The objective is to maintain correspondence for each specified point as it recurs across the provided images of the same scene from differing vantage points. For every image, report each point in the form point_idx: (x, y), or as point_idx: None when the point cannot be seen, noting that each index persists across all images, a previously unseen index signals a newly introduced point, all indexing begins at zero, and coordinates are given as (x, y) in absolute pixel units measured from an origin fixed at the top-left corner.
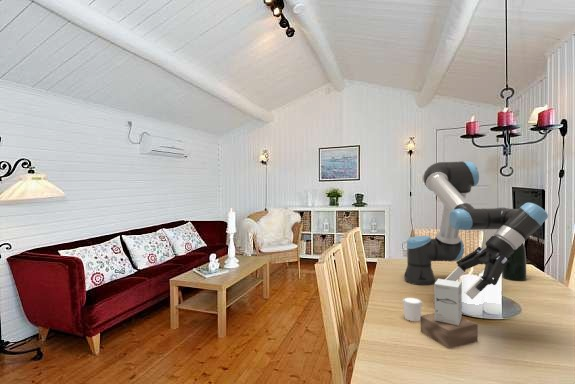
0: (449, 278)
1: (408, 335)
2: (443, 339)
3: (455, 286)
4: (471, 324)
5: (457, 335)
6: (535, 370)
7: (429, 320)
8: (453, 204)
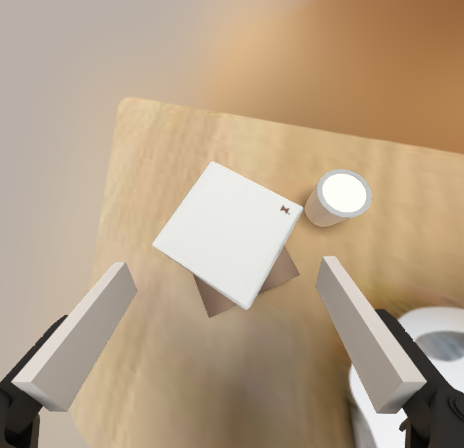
0: (329, 276)
1: None
2: None
3: (162, 236)
4: (207, 300)
5: None
6: (103, 364)
7: None
8: None
